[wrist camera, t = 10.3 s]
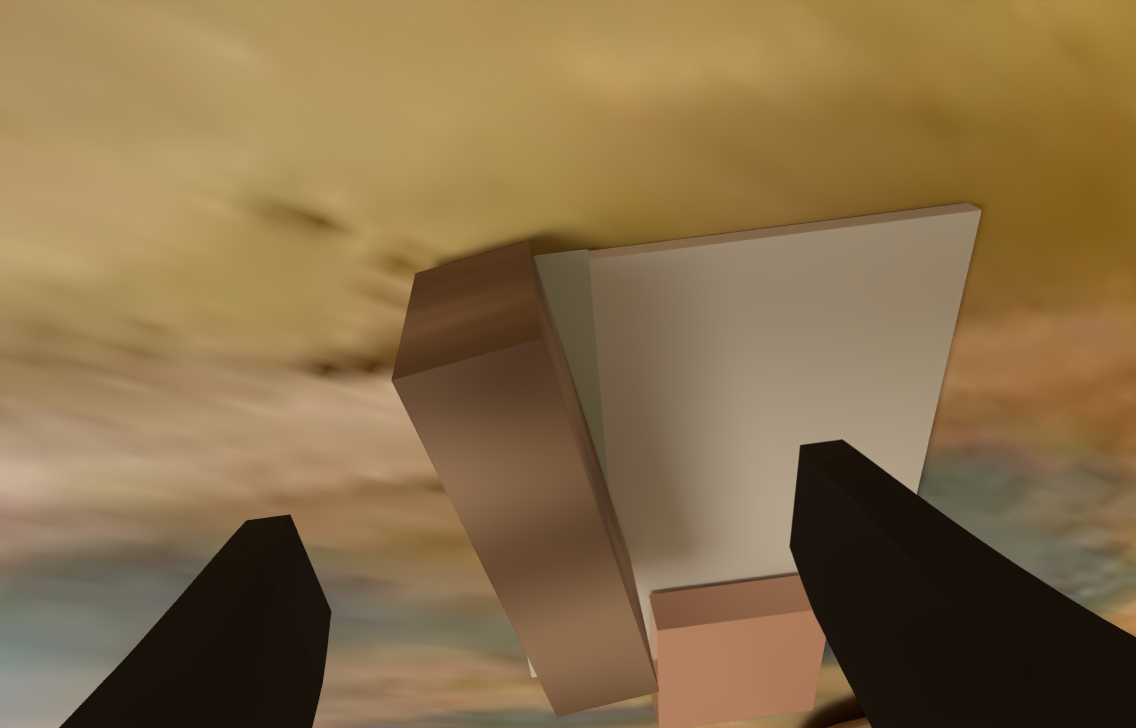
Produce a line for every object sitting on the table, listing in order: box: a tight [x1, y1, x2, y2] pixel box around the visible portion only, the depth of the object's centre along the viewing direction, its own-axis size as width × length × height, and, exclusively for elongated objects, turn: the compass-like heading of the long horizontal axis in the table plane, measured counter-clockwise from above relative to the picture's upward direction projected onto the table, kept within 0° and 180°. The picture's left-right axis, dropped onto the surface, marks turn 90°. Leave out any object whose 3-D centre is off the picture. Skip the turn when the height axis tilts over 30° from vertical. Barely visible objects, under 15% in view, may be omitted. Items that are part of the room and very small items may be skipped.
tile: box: [649, 575, 826, 728], centre depth 26 cm, size 6×2×6 cm
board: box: [528, 203, 982, 677], centre depth 23 cm, size 14×17×1 cm
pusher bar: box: [392, 240, 660, 717], centre depth 19 cm, size 12×3×5 cm, turn 15°
